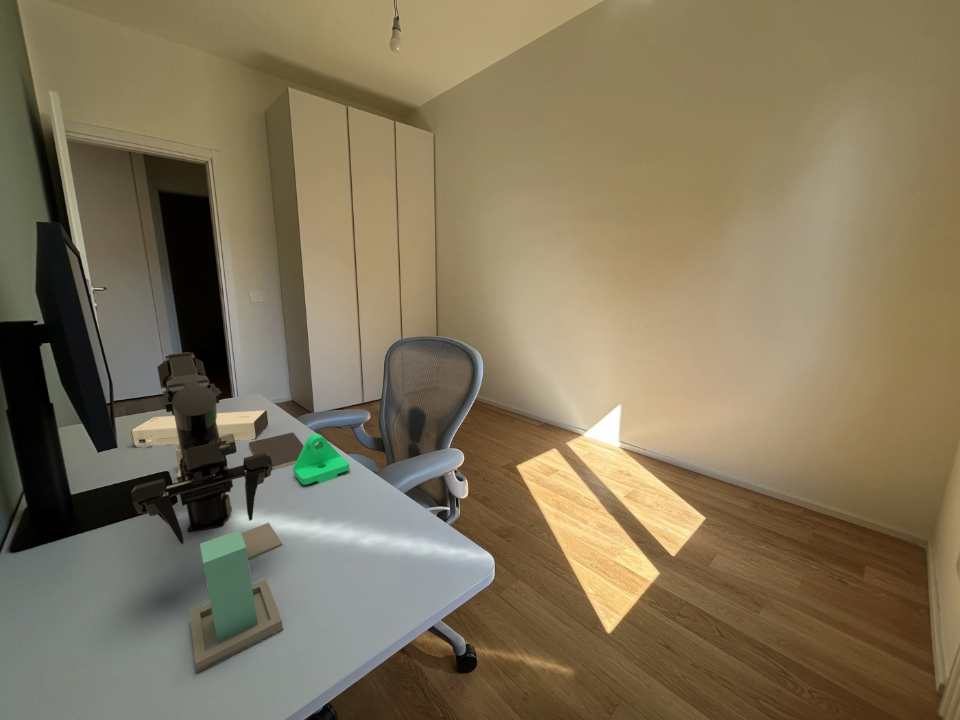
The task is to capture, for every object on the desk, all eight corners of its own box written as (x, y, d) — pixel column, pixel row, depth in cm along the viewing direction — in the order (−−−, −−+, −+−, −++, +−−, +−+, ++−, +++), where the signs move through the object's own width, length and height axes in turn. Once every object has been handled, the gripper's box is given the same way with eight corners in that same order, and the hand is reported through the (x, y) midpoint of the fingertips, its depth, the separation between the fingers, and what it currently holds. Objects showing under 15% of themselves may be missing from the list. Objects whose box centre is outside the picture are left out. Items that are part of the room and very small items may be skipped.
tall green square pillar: (213, 619, 59) (199, 543, 57) (251, 602, 62) (240, 529, 60) (217, 643, 56) (203, 563, 53) (257, 623, 59) (245, 547, 56)
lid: (229, 571, 71) (228, 566, 70) (218, 546, 77) (218, 542, 77) (282, 547, 77) (282, 543, 76) (269, 526, 83) (268, 522, 83)
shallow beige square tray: (191, 620, 60) (189, 611, 60) (267, 586, 66) (266, 578, 66) (197, 673, 52) (195, 663, 52) (282, 629, 58) (281, 620, 58)
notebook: (312, 460, 112) (293, 436, 128) (311, 455, 111) (293, 432, 128) (261, 474, 104) (248, 447, 121) (260, 469, 104) (248, 442, 120)
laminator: (268, 427, 136) (266, 409, 134) (255, 441, 124) (253, 423, 123) (157, 434, 130) (153, 416, 128) (132, 451, 118) (128, 431, 117)
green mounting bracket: (303, 489, 96) (299, 450, 94) (294, 477, 102) (289, 440, 100) (351, 473, 104) (348, 436, 102) (339, 462, 110) (336, 428, 107)
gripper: (120, 437, 57) (132, 543, 51) (263, 409, 69) (286, 493, 63) (132, 467, 65) (144, 562, 59) (259, 437, 77) (280, 514, 71)
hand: (218, 531), depth 63 cm, fingers open, 9 cm apart
